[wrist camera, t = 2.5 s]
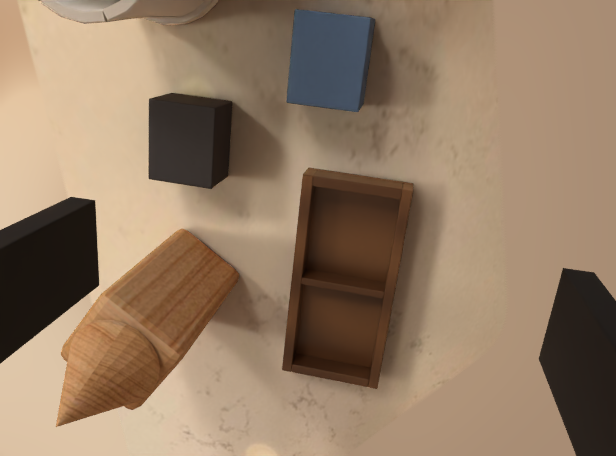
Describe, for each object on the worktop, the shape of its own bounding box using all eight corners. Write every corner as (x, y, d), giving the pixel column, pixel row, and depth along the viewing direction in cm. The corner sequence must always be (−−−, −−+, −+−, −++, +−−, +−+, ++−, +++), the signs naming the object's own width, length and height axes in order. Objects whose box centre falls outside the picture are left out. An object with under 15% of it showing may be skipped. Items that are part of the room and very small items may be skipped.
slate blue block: (305, 11, 39) (294, 8, 36) (375, 18, 39) (371, 17, 35) (297, 96, 41) (285, 102, 38) (363, 105, 41) (358, 112, 37)
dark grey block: (171, 92, 43) (148, 98, 39) (232, 101, 42) (215, 107, 39) (169, 167, 45) (148, 179, 41) (228, 176, 45) (211, 189, 41)
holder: (308, 167, 43) (302, 174, 41) (413, 183, 42) (413, 191, 40) (287, 356, 49) (281, 370, 47) (378, 374, 48) (377, 389, 46)
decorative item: (201, 322, 50) (74, 494, 31) (143, 275, 49) (-21, 422, 31) (244, 272, 47) (133, 428, 29) (183, 223, 47) (31, 349, 28)
